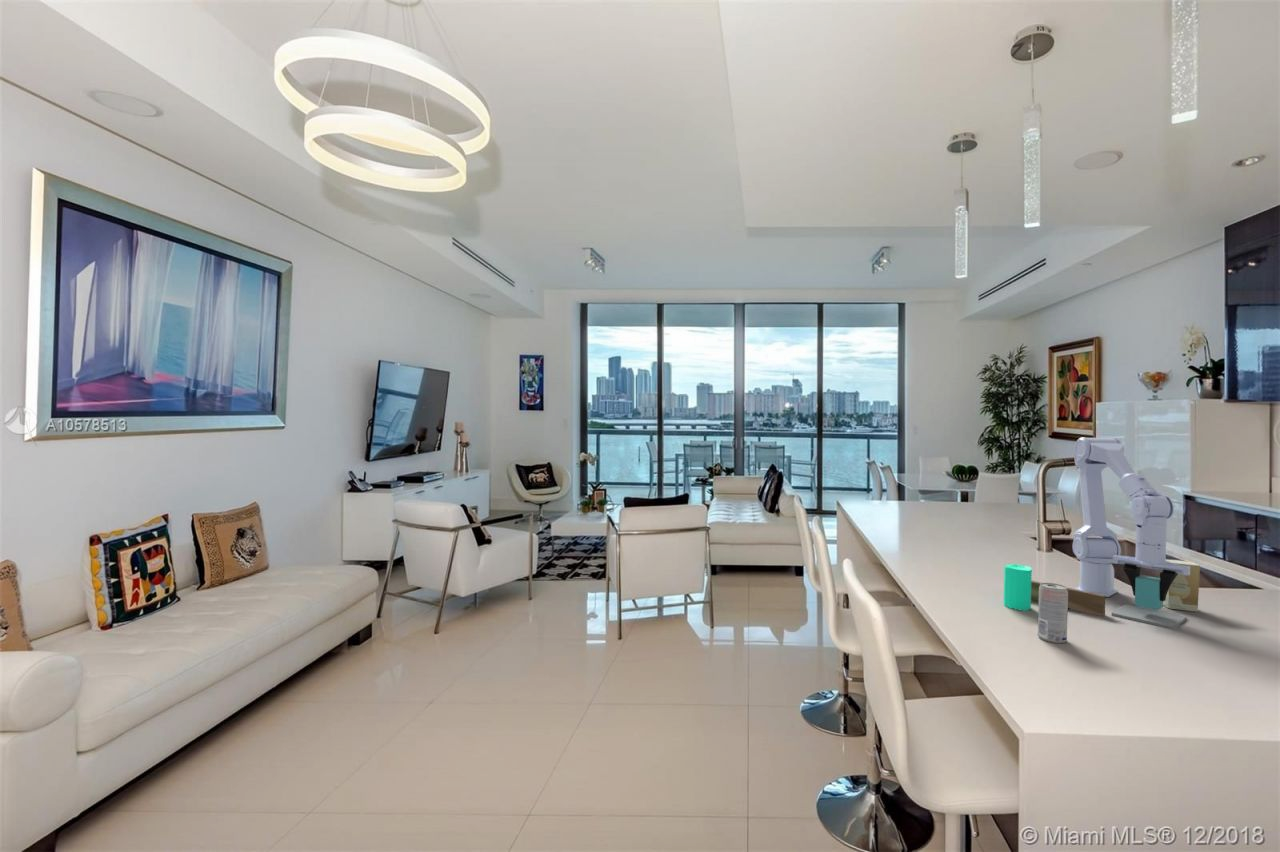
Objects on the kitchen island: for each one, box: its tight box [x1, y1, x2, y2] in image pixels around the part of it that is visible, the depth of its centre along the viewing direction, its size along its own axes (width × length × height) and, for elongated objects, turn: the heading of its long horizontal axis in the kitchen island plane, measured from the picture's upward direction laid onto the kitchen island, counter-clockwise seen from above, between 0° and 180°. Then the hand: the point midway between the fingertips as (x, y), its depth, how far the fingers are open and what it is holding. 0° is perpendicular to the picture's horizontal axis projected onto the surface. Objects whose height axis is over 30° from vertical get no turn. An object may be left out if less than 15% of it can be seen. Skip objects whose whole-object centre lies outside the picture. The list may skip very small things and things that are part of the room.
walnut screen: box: [1031, 579, 1107, 617], centre depth 156 cm, size 2×20×5 cm, turn 37°
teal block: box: [1134, 574, 1164, 611], centre depth 148 cm, size 4×4×7 cm
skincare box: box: [1163, 559, 1201, 613], centre depth 155 cm, size 6×4×12 cm
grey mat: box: [1111, 603, 1187, 630], centre depth 148 cm, size 12×12×1 cm
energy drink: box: [1037, 582, 1069, 644], centre depth 132 cm, size 5×5×12 cm
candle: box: [1003, 563, 1033, 611], centre depth 155 cm, size 6×6×12 cm
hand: (1149, 597), depth 148 cm, fingers closed on teal block, 4 cm apart
